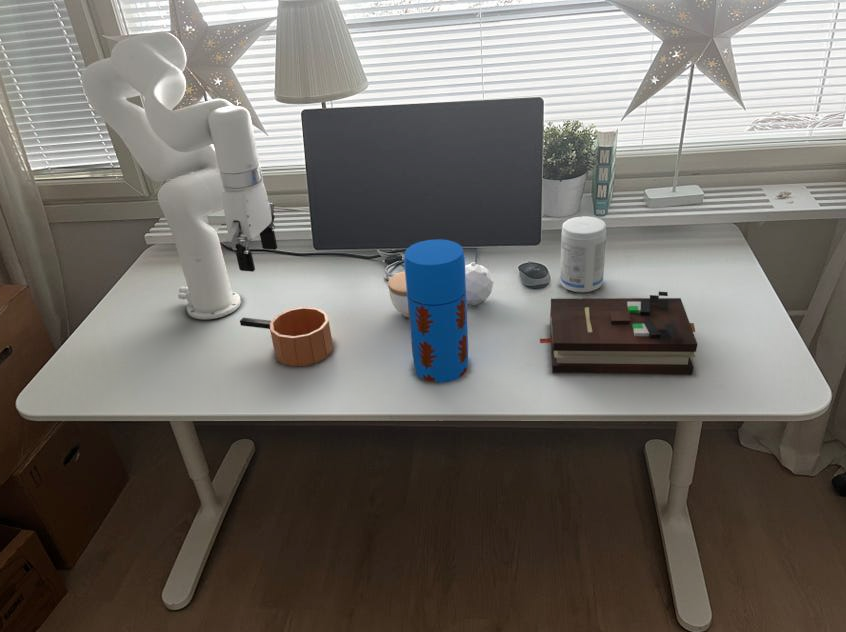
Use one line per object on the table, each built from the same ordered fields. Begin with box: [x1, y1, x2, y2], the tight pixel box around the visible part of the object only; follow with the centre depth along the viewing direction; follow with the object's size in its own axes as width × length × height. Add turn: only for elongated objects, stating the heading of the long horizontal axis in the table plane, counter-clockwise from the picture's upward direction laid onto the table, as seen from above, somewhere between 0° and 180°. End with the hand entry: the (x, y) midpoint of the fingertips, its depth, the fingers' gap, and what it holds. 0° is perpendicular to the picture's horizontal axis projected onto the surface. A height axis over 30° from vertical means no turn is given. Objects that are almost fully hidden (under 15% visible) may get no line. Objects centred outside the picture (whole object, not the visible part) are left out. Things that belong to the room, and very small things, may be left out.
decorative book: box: [539, 291, 698, 376], centre depth 138 cm, size 19×8×30 cm
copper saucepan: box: [239, 306, 334, 367], centre depth 149 cm, size 20×12×7 cm, turn 71°
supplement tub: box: [559, 216, 607, 293], centre depth 159 cm, size 10×10×15 cm
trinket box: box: [387, 270, 409, 319], centre depth 157 cm, size 11×11×9 cm
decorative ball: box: [465, 261, 495, 306], centre depth 160 cm, size 9×10×12 cm
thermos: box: [403, 238, 469, 384], centre depth 133 cm, size 11×11×25 cm
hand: (259, 259), depth 143 cm, fingers open, 9 cm apart
